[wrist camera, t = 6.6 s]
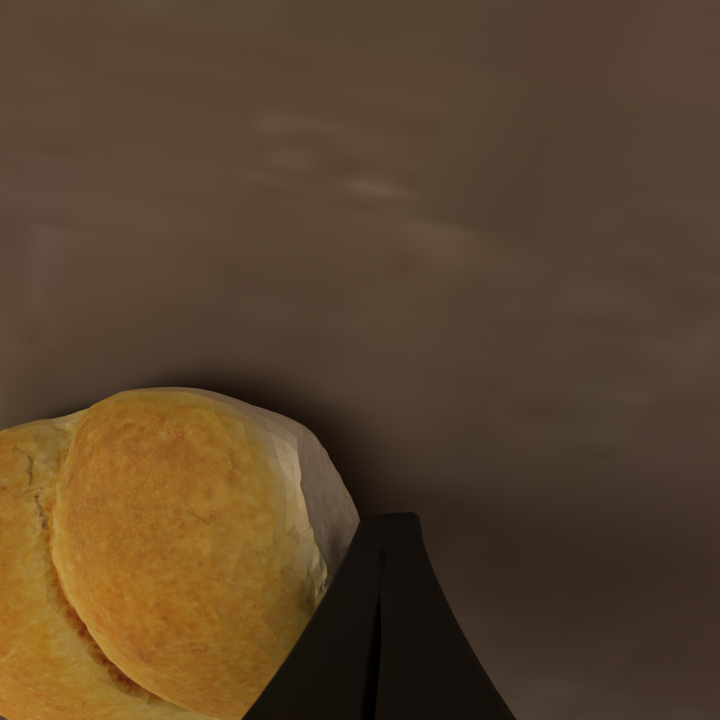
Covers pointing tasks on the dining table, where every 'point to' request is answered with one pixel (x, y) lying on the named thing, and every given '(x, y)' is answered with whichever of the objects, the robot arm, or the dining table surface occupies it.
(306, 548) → the bread roll
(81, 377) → the dining table surface
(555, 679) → the dining table surface
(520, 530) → the dining table surface
